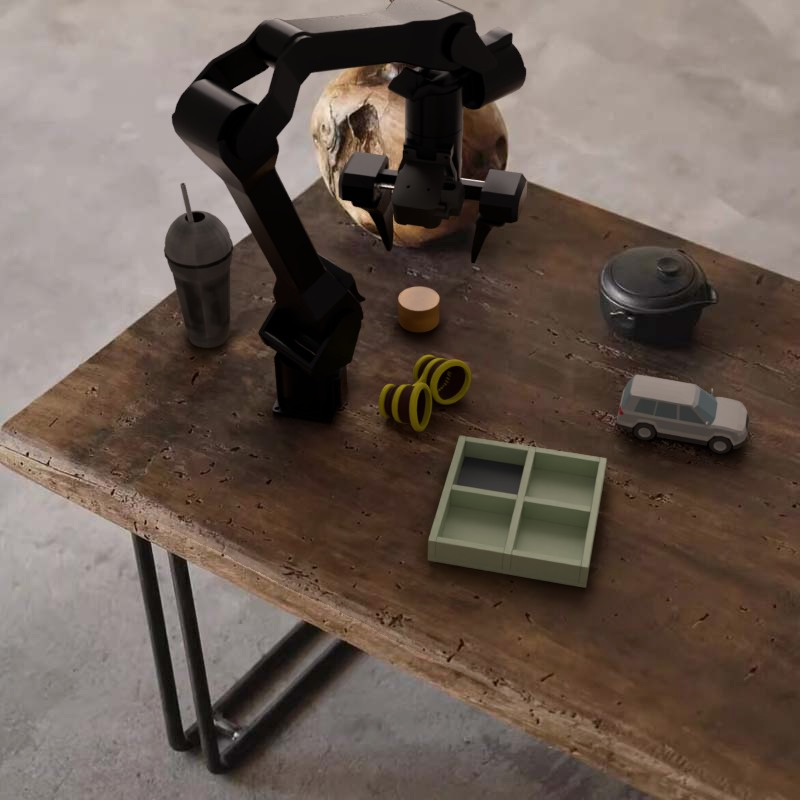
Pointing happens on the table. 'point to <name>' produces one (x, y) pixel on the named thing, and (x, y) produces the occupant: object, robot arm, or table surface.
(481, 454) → the grid
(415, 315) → the cylinder
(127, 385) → the table surface
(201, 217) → the beverage cup
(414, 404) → the opera glasses
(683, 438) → the toy car
